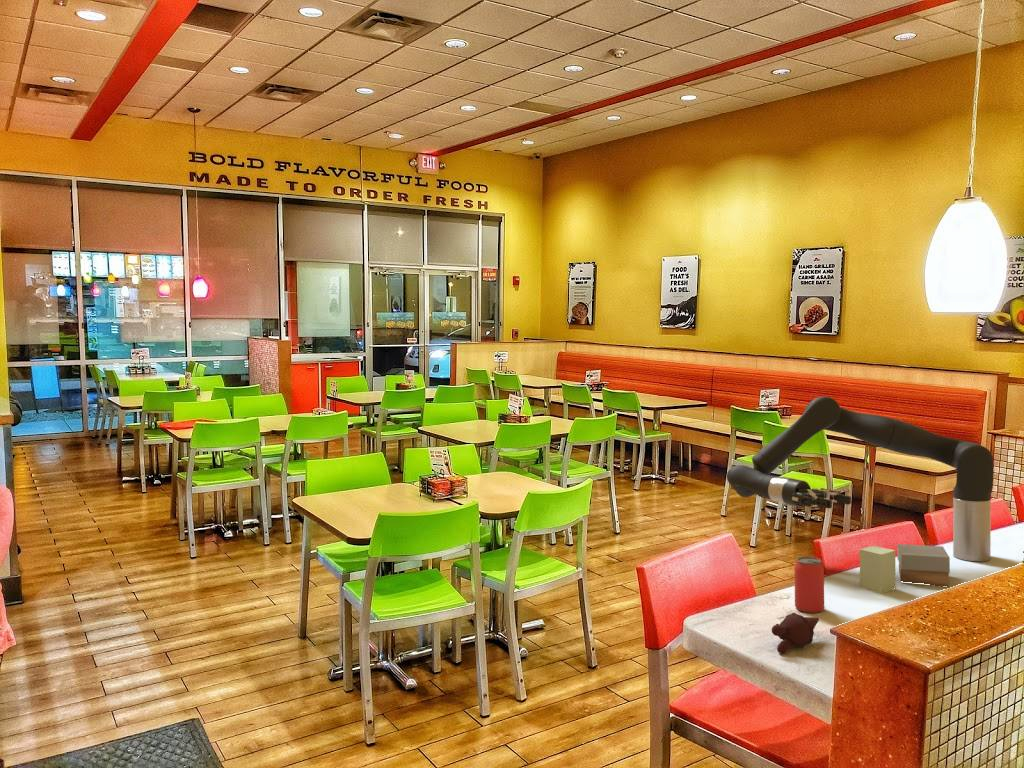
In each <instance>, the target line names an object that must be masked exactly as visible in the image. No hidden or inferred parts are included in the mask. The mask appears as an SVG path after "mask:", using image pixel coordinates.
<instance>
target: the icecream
mask: <svg viewBox="0 0 1024 768" xmlns="http://www.w3.org/2000/svg"><path fill="white" fill-rule="evenodd" d="M819 621H820V618H819V617H814V616H813V617H812V616H811V617H809V616H803V615H801V614H798V613H796V612H791V613H790V614H787V615H786V616H785V617H784V619H782V621H781V622H780V623H776V624H775V625H773V626H772V627H771V633H772V634H773V636H776V637H779V639H780V640H782V641H780V642H779V643H778V645H777V648H776V650H777V652H778V653H779V654H785V653H787V652H788V651H789V650H790V648H791V647H804V646H806V645H810V644H812V642H813V640H814V639H813V638H814V634H815V631H814V630H815V628H816V626H817V624H818V622H819Z"/></svg>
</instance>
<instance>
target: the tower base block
mask: <svg viewBox="0 0 1024 768" xmlns="http://www.w3.org/2000/svg"><path fill="white" fill-rule="evenodd" d="M898 574H900V575H899V581H903V582H912V583H924V584H930V585H935V586H934V587H938V586H940V588H944V587H943V586H947V587H946V588H949V587H950V584H949V583H950V573H944V572H929V571H915V570H902V569H901V566H900V564H899V563H898Z"/></svg>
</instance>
